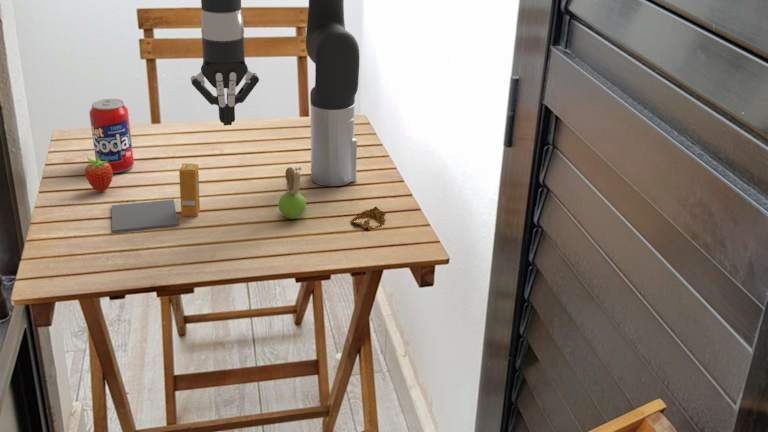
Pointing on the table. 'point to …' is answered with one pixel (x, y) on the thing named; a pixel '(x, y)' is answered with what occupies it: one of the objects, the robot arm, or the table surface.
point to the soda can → (112, 133)
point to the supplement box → (189, 189)
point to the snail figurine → (292, 196)
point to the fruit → (99, 174)
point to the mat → (143, 215)
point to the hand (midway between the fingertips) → (227, 123)
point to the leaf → (371, 214)
